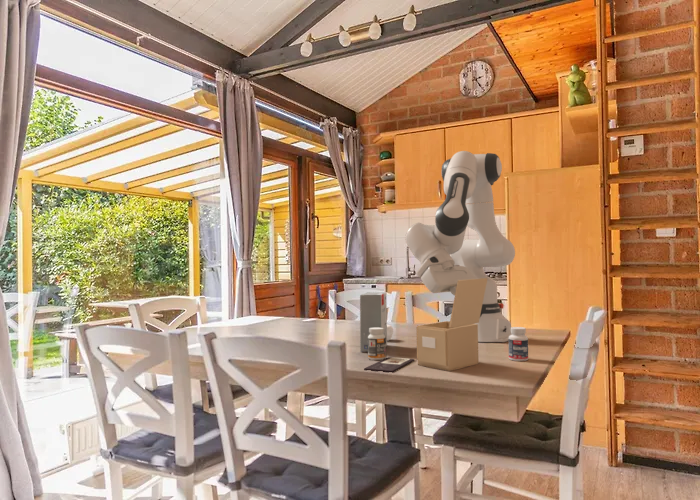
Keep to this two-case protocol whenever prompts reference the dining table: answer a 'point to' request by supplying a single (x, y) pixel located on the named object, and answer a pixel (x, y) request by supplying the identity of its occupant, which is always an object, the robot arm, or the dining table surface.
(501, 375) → the dining table surface
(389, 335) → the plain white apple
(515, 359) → the pill bottle
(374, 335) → the pill bottle
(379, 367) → the chocolate bar
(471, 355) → the carton
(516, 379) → the dining table surface
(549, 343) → the dining table surface
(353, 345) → the dining table surface
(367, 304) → the hard drive box
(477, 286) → the flap
